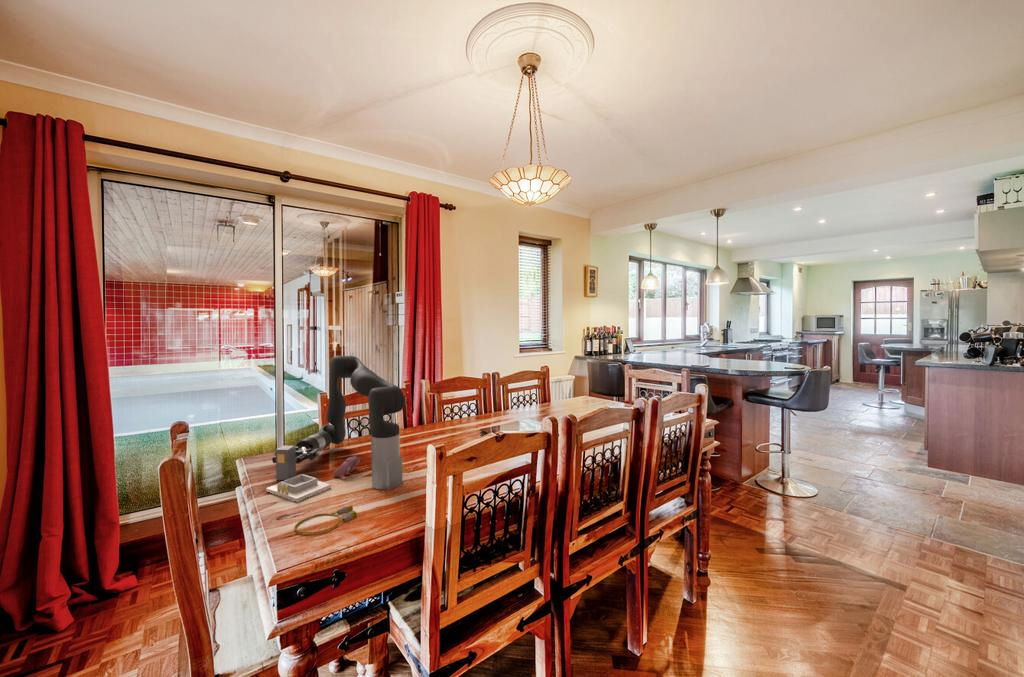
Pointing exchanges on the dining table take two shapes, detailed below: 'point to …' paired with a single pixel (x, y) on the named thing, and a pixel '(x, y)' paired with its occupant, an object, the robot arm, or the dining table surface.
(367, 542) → the dining table surface
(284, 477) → the block
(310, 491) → the board
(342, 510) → the extension cord
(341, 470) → the purple lumpy piece
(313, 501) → the dining table surface
